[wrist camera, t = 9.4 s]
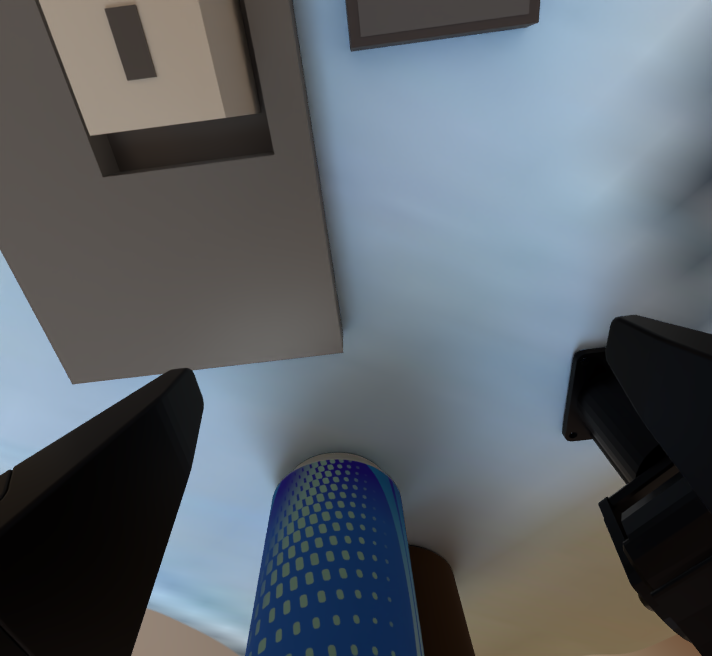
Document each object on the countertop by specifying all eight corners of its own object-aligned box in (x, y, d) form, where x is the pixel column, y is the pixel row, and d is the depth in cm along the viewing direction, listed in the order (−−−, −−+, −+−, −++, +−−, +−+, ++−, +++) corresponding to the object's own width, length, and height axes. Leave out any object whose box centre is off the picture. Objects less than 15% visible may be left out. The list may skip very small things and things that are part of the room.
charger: (260, 112, 17) (224, 117, 12) (166, 125, 18) (88, 135, 12) (236, -9, 16) (181, -67, 10) (130, 6, 16) (20, -44, 10)
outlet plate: (343, 333, 23) (343, 352, 21) (92, 362, 23) (72, 384, 22) (274, -122, 14) (264, -153, 13) (-118, -63, 15) (-179, -85, 13)
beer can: (297, 539, 31) (259, 902, 17) (257, 458, 27) (165, 842, 13) (409, 517, 30) (467, 879, 16) (384, 431, 26) (433, 808, 12)
